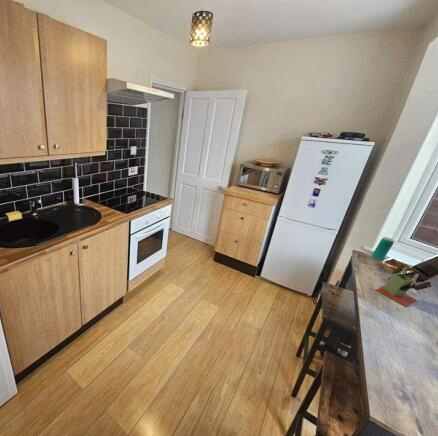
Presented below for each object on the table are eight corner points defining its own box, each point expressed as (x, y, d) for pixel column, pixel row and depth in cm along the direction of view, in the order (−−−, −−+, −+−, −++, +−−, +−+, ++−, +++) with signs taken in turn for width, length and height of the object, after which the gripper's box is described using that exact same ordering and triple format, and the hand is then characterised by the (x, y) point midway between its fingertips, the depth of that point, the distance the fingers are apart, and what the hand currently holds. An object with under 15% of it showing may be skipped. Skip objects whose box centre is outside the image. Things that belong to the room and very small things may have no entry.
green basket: (392, 288, 122) (403, 273, 117) (403, 296, 117) (415, 281, 112) (382, 287, 121) (393, 273, 117) (393, 296, 116) (404, 281, 112)
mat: (416, 300, 115) (417, 300, 115) (405, 306, 110) (406, 306, 110) (387, 285, 125) (387, 284, 125) (375, 290, 120) (375, 289, 120)
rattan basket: (418, 275, 136) (422, 271, 134) (407, 280, 130) (411, 275, 129) (389, 262, 147) (392, 257, 146) (377, 266, 142) (380, 261, 140)
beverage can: (384, 262, 146) (397, 242, 140) (373, 260, 148) (385, 240, 142) (379, 257, 151) (391, 238, 145) (369, 255, 153) (380, 236, 146)
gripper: (413, 254, 117) (379, 271, 121) (447, 273, 104) (407, 291, 109) (416, 262, 120) (383, 279, 124) (449, 282, 107) (411, 300, 112)
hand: (394, 285), depth 117 cm, fingers closed on green basket, 5 cm apart
